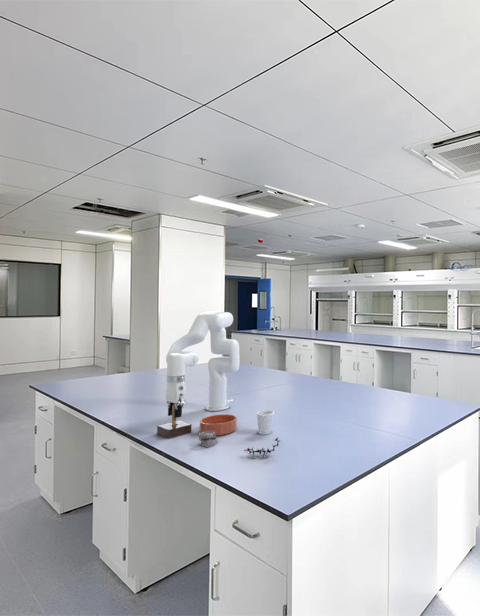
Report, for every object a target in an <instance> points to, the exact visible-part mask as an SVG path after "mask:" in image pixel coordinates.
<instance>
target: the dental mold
mask: <svg viewBox="0 0 480 616" xmlns="http://www.w3.org/2000/svg"><path fill="white" fill-rule="evenodd" d="M213 435H214V436H213ZM198 439H199V441H200V446H202V447H205V448H211V447H213V446H214V445H215V444H217V436H216V434H215V431H205V432H201V433H200V432H199V433H198Z"/></svg>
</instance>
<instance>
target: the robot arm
mask: <svg viewBox="0 0 480 616" xmlns="http://www.w3.org/2000/svg"><path fill="white" fill-rule="evenodd" d="M233 323H234V316H233V314H232V313H231V312H228V311H205V312H202V313H199V314H197V316H196V317H195V319H194V321H193V322H192V325H191V327H190V329H189V330H188V332H187V333H186V334H184V335H183V336H181V337H179V338H177V340H176V341H174V342H173V343H172V344H171V346H170V347H169V350H168V351H167V354H166V357H165V362H166V389H165V401H166V403H167V416H169V417H172V405H173V404H175V413H174V418H176V419H177V418H181V417H182V416H183V408H184V405H185V404H186V401H187V389H186V387H187V386H186V382H185V379H186V367H194V366H195V365H197V363H198V362H199V355H198V353H197V352H195V351H186V350H185V351H184V349H186V348H188V347H191V346H194V345H198V344H200V343H203V342H204V340H205V339H206V337H207V335H208V333H209V335H210V339H209V340H210V341H209V342H210V352H211V353H212V354H213V355H216V356H212V357H210V358H209V360H208V362H207V368H208V374H209V387H208V405H207V406H206V407H205V410H206V411H210V412H219V411H224V410H228V409H229V408H230V405H229V404H232V403H234V399H233V398H232V399H227V389H228V377H227V375H226V374H225V373H236V372H238V371H239V370H240V363H241V361H240V359H241V357H240V344H239V341H238V340H236V339H233V338H227V331H226V328H228V327H230V326H231V325H233ZM217 355H218V356H217Z"/></svg>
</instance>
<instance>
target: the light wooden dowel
mask: <svg viewBox="0 0 480 616" xmlns="http://www.w3.org/2000/svg"><path fill="white" fill-rule="evenodd" d="M174 413H175V404H173V405H172V415H171V422H172V426H176V421H177V418H174Z"/></svg>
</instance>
